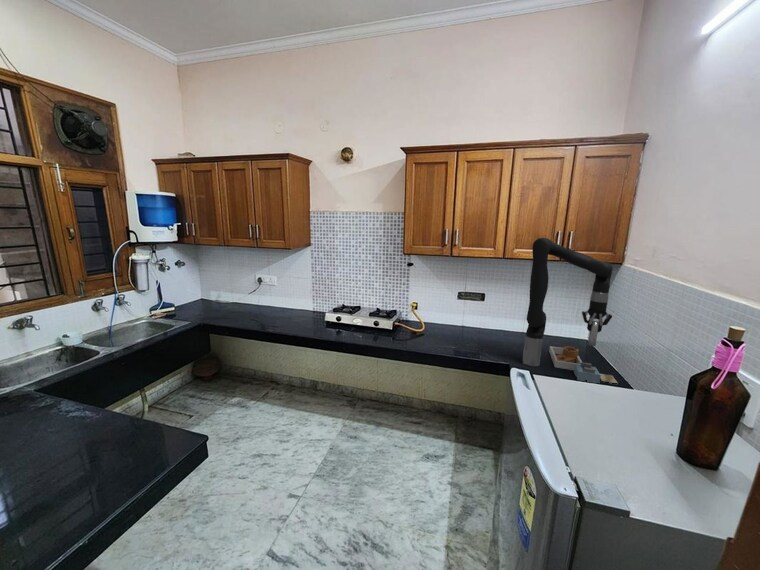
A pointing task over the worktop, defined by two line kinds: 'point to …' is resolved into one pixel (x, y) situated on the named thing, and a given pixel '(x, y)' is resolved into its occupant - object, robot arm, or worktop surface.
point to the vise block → (587, 373)
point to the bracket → (568, 354)
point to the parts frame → (561, 363)
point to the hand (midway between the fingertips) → (593, 331)
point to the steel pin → (593, 333)
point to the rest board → (608, 378)
